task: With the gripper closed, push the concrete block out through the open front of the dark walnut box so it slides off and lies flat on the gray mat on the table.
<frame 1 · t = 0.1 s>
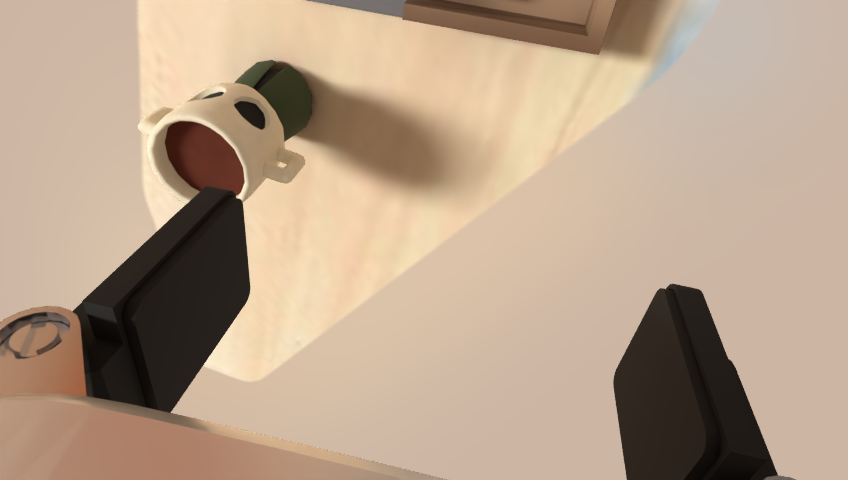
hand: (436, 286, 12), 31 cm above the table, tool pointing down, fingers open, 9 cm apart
character mug: (280, 95, 44), on the table
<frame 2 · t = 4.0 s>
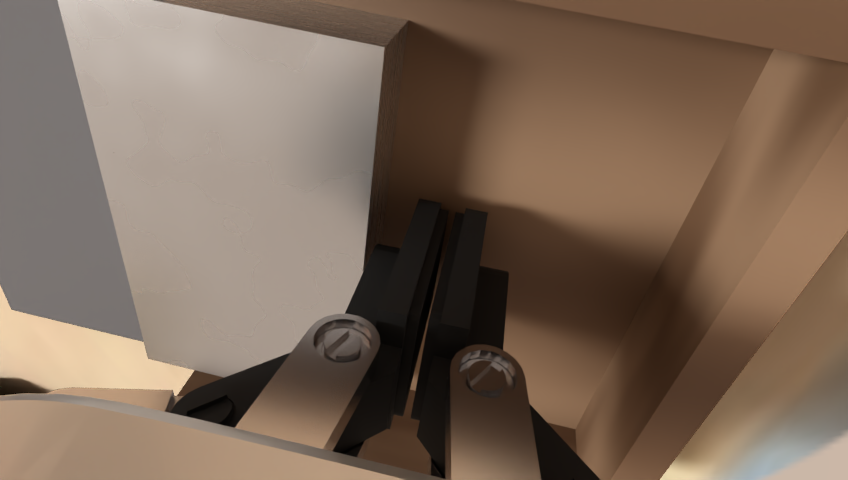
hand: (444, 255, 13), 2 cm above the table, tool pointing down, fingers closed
gray mat: (58, 130, 15), on the table
concrete block: (271, 199, 14), point 1 cm above the table, touching gripper
walnut box: (440, 212, 14), on the table
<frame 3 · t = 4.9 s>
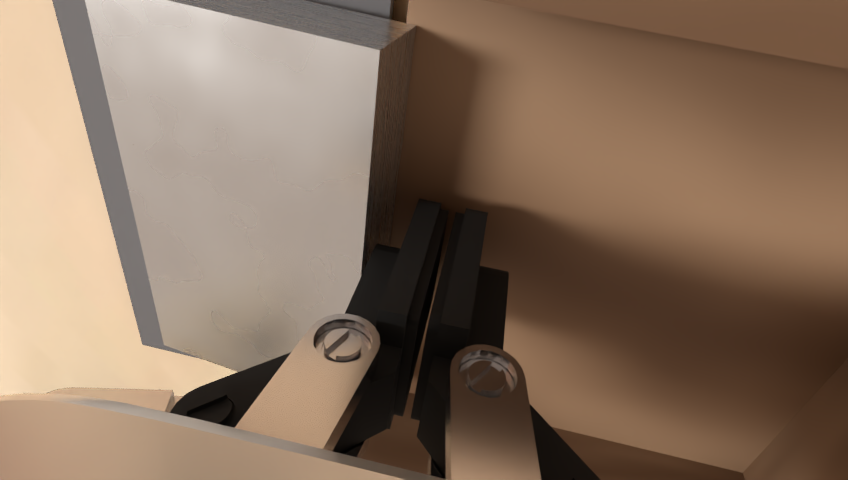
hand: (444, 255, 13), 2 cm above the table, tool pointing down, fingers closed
gray mat: (233, 171, 14), on the table
concrete block: (285, 198, 14), point 1 cm above the table, tilted 7°, touching gripper
walnut box: (634, 258, 14), on the table
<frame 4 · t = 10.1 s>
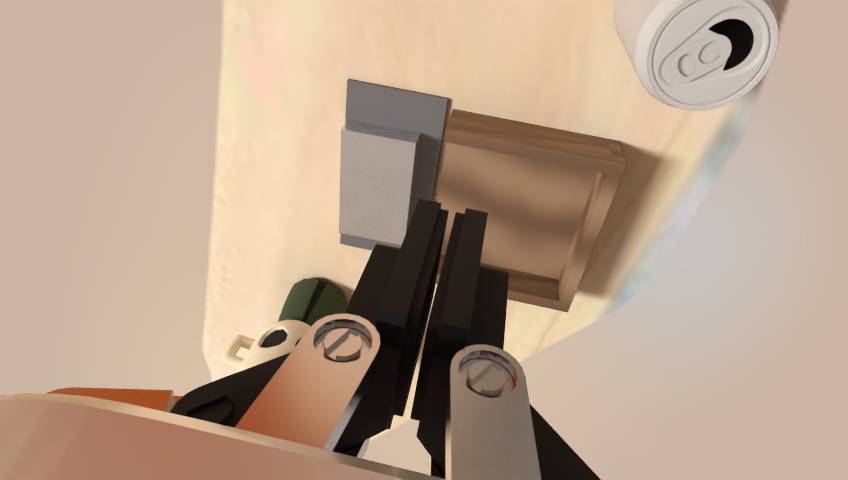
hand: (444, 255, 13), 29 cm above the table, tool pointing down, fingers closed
gray mat: (388, 177, 46), on the table
beverage can: (662, 3, 35), on the table
concrete block: (380, 179, 46), resting on gray mat
character mug: (321, 297, 56), on the table
walnut box: (514, 203, 45), on the table
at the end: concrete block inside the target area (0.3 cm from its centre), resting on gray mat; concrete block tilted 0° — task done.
